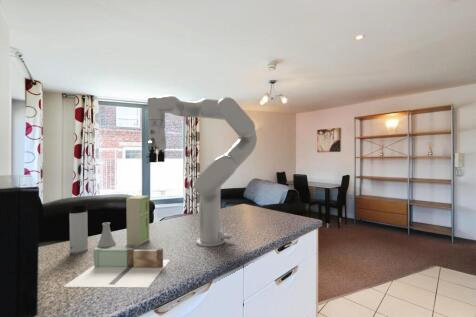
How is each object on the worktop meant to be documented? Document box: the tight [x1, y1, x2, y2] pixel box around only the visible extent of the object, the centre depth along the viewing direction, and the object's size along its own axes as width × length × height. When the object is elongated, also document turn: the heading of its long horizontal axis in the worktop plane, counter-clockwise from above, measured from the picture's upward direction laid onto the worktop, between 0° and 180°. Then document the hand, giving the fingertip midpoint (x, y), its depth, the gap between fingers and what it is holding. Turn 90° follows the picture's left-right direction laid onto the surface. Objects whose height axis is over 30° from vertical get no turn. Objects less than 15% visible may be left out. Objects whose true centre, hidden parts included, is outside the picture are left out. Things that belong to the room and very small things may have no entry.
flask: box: [97, 221, 116, 249], centre depth 111 cm, size 7×7×10 cm
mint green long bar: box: [93, 247, 129, 267], centre depth 88 cm, size 12×2×6 cm, turn 87°
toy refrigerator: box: [125, 194, 150, 246], centre depth 114 cm, size 8×7×21 cm
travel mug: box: [68, 204, 89, 256], centre depth 103 cm, size 6×7×20 cm
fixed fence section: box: [127, 247, 164, 268], centre depth 87 cm, size 12×2×6 cm, turn 87°
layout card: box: [63, 259, 171, 288], centre depth 84 cm, size 26×20×1 cm
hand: (157, 162), depth 114 cm, fingers open, 9 cm apart
